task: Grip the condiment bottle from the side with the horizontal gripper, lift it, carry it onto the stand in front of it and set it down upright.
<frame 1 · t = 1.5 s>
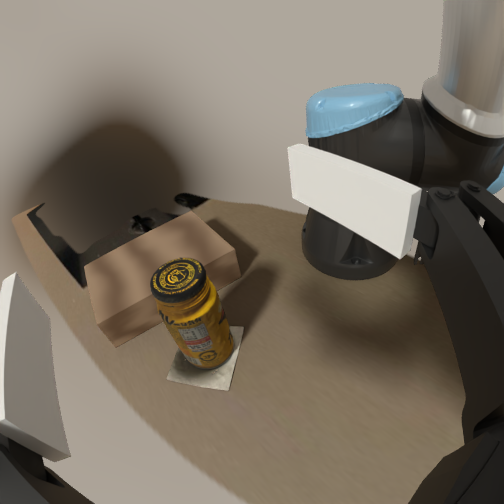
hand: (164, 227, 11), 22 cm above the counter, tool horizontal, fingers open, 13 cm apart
condiment: (207, 355, 32), on the counter
stand: (161, 283, 42), on the counter
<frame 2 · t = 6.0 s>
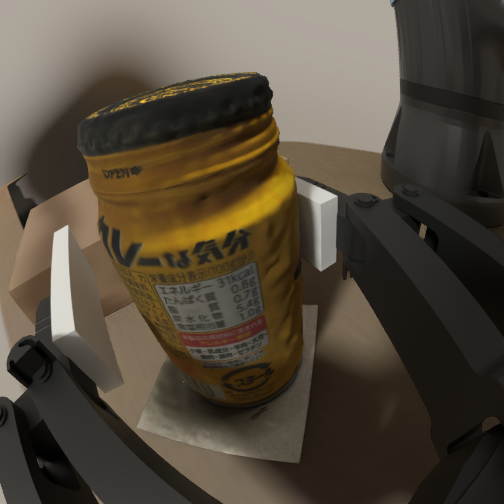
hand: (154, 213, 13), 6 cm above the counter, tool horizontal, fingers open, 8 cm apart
condiment: (235, 371, 13), on the counter, touching gripper
stand: (147, 235, 24), on the counter
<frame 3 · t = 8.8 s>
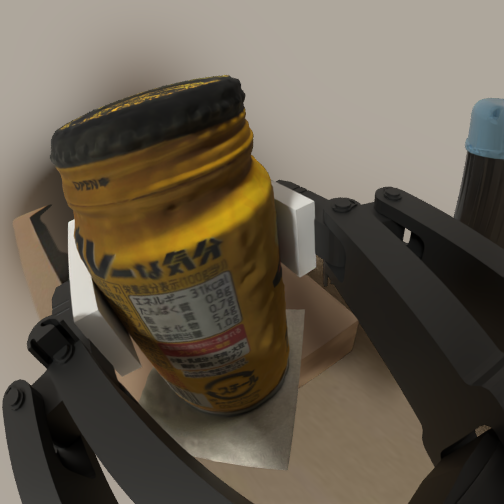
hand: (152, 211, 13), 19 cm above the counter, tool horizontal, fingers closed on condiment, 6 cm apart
condiment: (222, 378, 13), point 12 cm above the counter, touching gripper
stand: (227, 355, 28), on the counter
when the fingers open (13 cm above the counter, at t = 11.3 s): condiment drops 1 cm, resting on stand.
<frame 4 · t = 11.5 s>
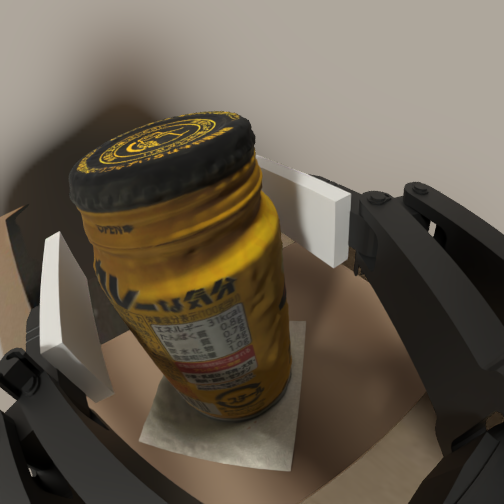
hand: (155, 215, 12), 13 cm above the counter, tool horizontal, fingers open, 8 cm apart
condiment: (229, 386, 14), point 5 cm above the counter, touching stand
stand: (253, 411, 17), on the counter
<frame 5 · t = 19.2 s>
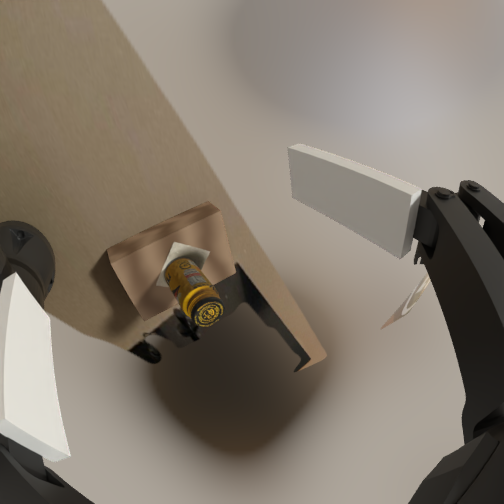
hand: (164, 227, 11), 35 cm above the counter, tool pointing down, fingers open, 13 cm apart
condiment: (182, 267, 50), point 5 cm above the counter, touching stand
stand: (169, 255, 53), on the counter
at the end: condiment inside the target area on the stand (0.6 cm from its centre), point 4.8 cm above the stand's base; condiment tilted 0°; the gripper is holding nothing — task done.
